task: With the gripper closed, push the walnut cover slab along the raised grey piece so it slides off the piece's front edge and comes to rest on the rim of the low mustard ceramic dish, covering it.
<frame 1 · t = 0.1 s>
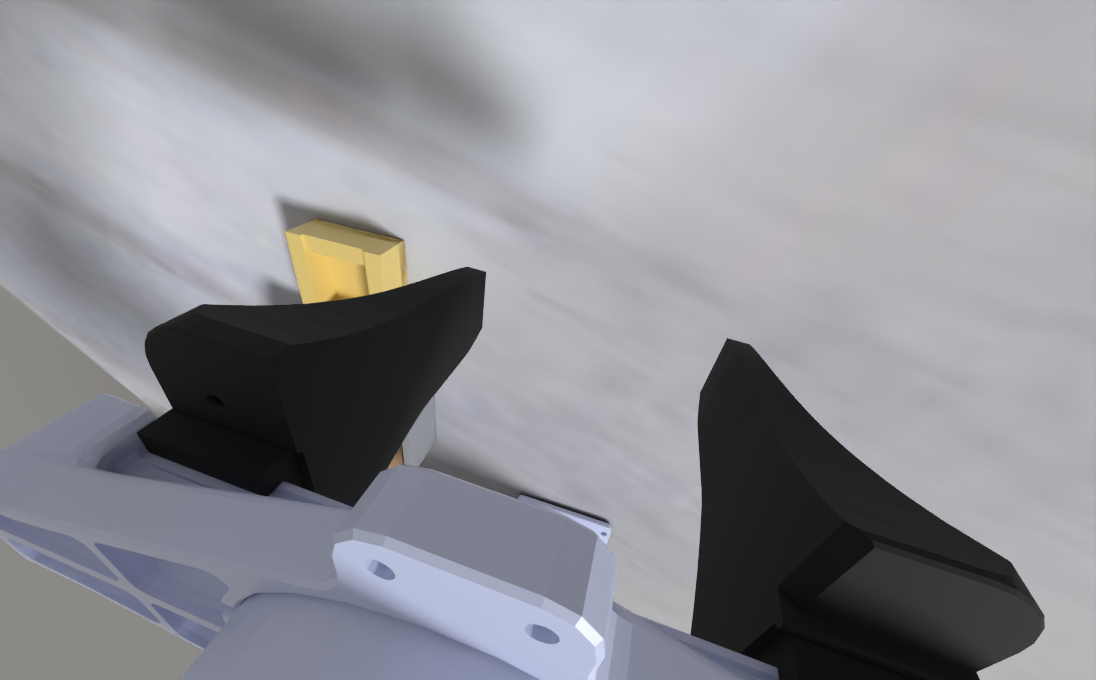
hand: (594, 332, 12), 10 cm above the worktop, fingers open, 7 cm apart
grey piece: (380, 377, 32), on the worktop
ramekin: (365, 274, 27), on the worktop
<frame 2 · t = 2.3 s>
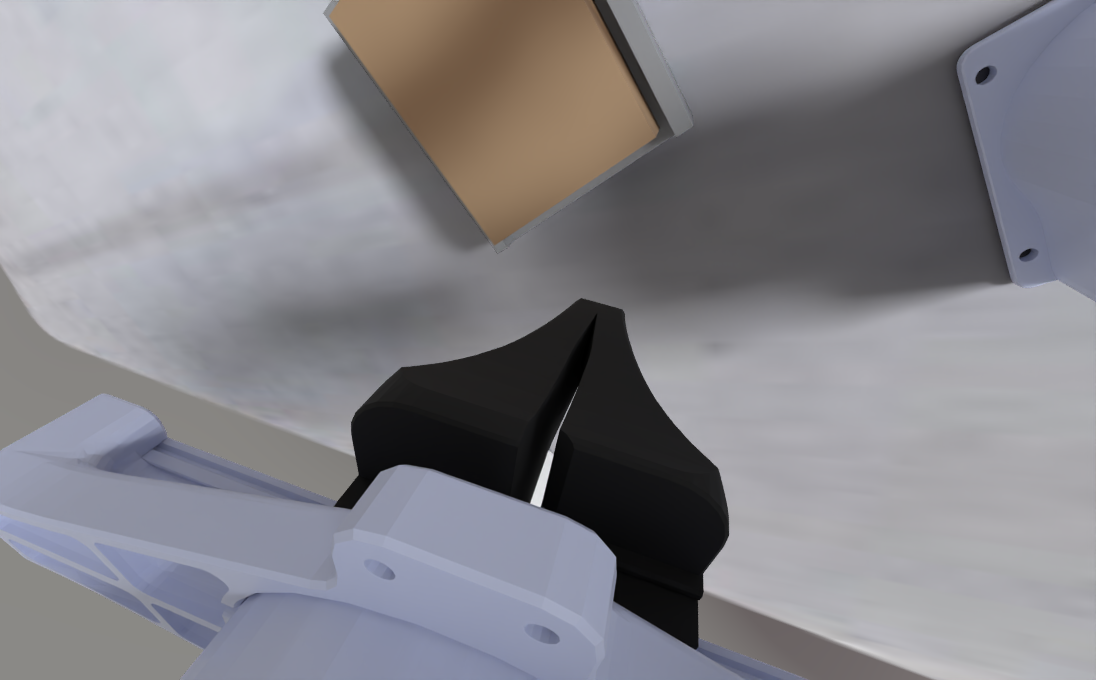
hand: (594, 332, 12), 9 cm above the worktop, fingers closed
medicine bottle: (525, 468, 32), on the worktop
grey piece: (531, 67, 17), on the worktop
cover: (514, 73, 15), point 3 cm above the worktop, touching grey piece
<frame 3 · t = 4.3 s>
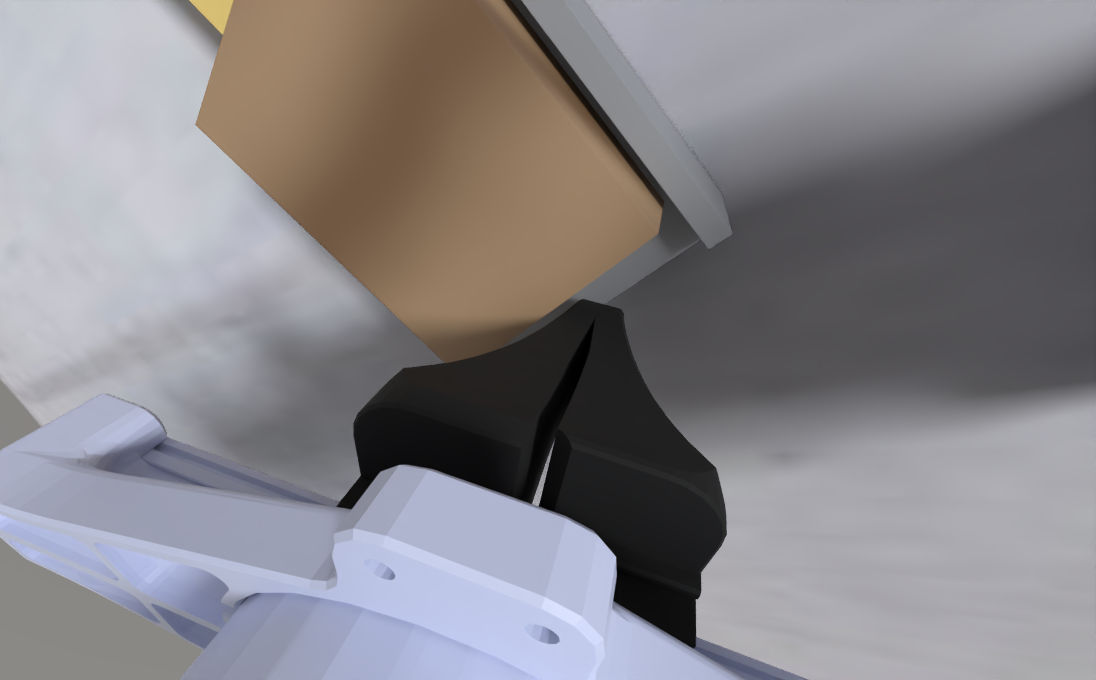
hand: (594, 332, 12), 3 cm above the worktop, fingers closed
grey piece: (504, 158, 14), on the worktop
cover: (456, 154, 11), point 3 cm above the worktop, touching gripper, grey piece
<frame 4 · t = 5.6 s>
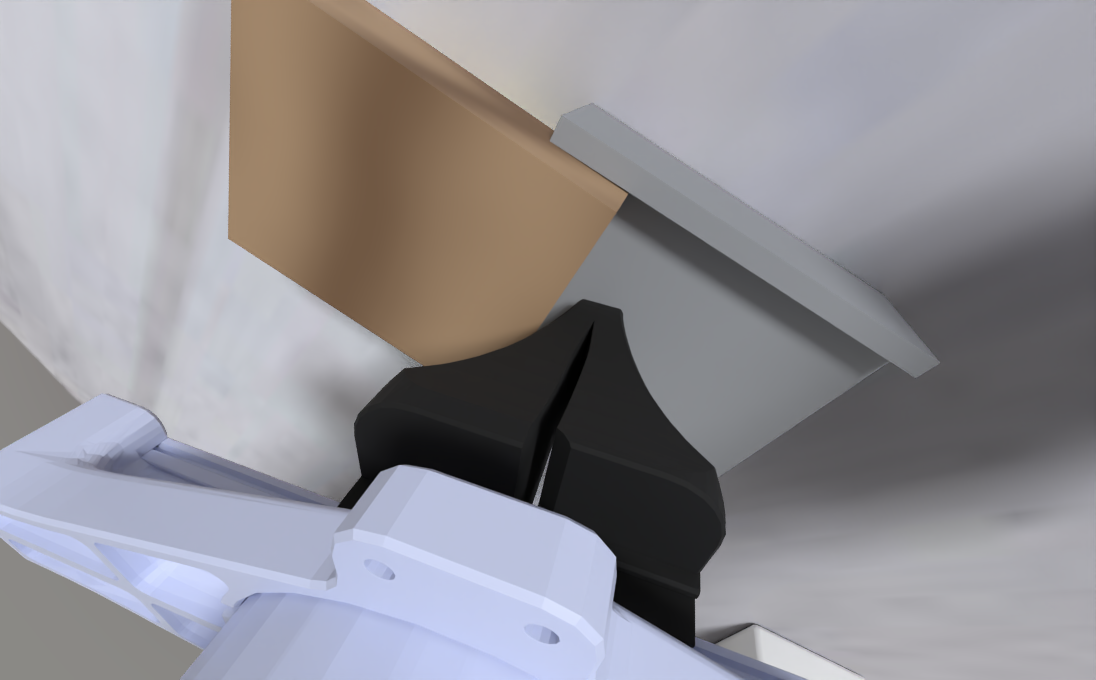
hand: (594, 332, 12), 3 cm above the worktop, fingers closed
medicine bottle: (769, 661, 26), on the worktop
grey piece: (651, 308, 15), on the worktop
cover: (438, 202, 12), point 3 cm above the worktop, touching gripper
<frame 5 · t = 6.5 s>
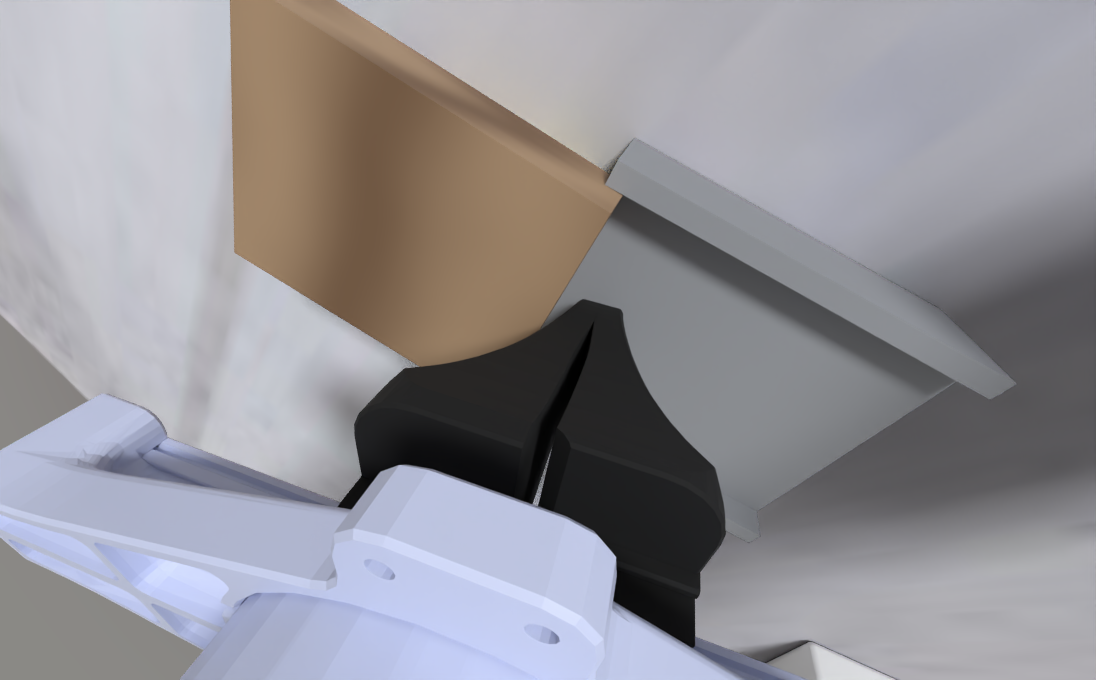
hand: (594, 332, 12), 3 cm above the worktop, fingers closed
medicine bottle: (826, 678, 25), on the worktop
grey piece: (696, 332, 15), on the worktop
cover: (437, 210, 12), point 2 cm above the worktop, touching gripper, grey piece, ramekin
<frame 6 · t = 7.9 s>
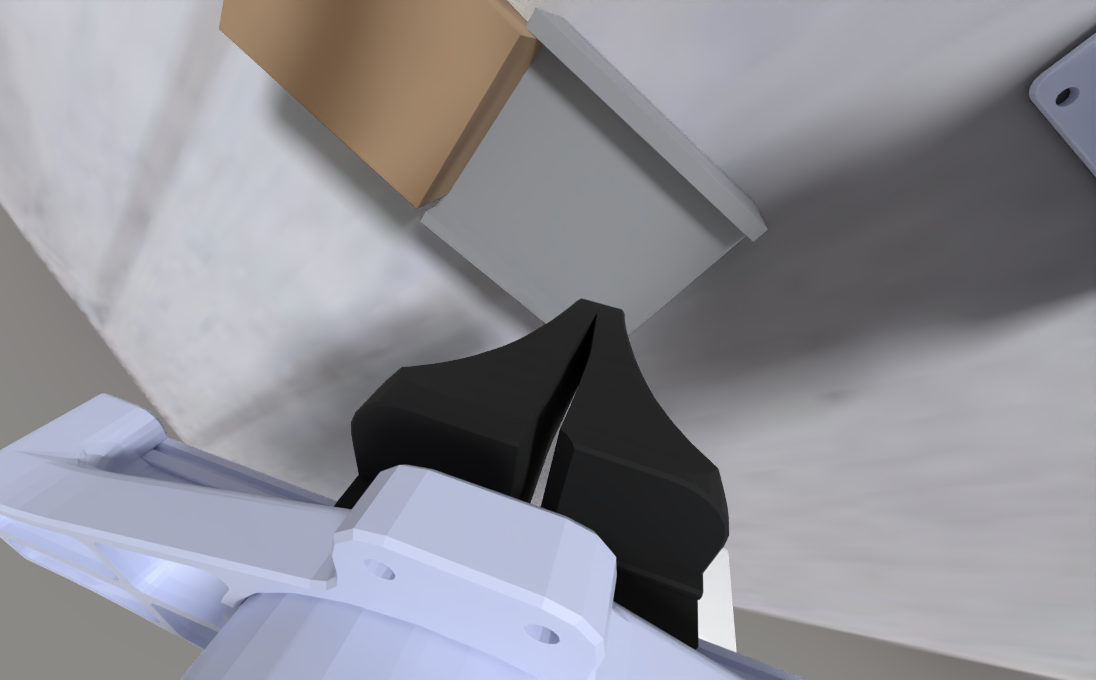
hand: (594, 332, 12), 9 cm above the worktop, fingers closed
medicine bottle: (658, 539, 32), on the worktop
grey piece: (591, 201, 19), on the worktop
cover: (399, 37, 16), point 2 cm above the worktop, touching grey piece, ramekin
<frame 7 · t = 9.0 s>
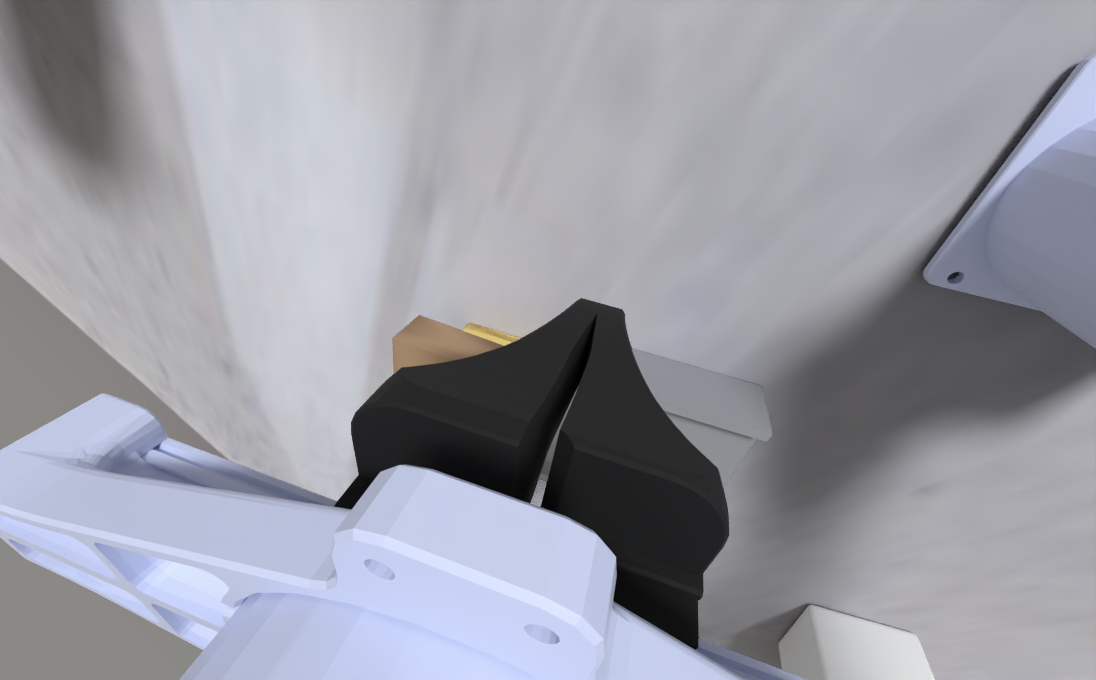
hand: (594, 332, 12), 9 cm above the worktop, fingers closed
medicine bottle: (840, 634, 32), on the worktop
grey piece: (642, 414, 26), on the worktop
cover: (486, 387, 25), point 2 cm above the worktop, touching grey piece, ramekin
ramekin: (509, 373, 27), on the worktop
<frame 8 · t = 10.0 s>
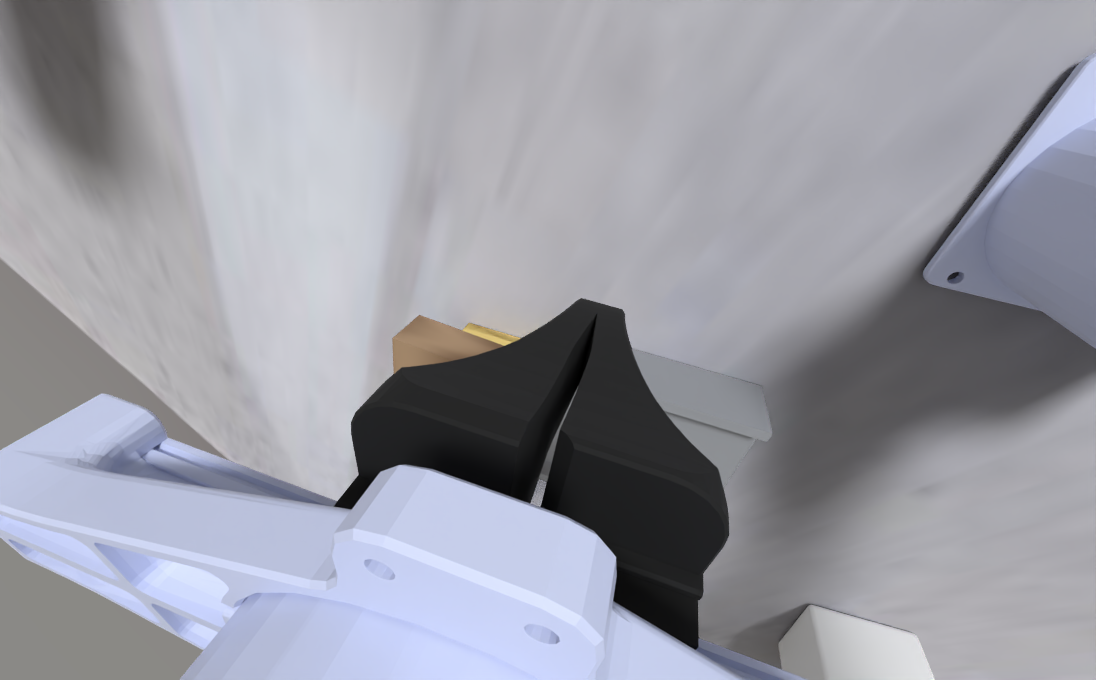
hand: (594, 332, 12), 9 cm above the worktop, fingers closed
medicine bottle: (840, 634, 32), on the worktop
grey piece: (642, 414, 26), on the worktop
cover: (486, 387, 25), point 2 cm above the worktop, touching grey piece, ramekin
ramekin: (509, 373, 27), on the worktop
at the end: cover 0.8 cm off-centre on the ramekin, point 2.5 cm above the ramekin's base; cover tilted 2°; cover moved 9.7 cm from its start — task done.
